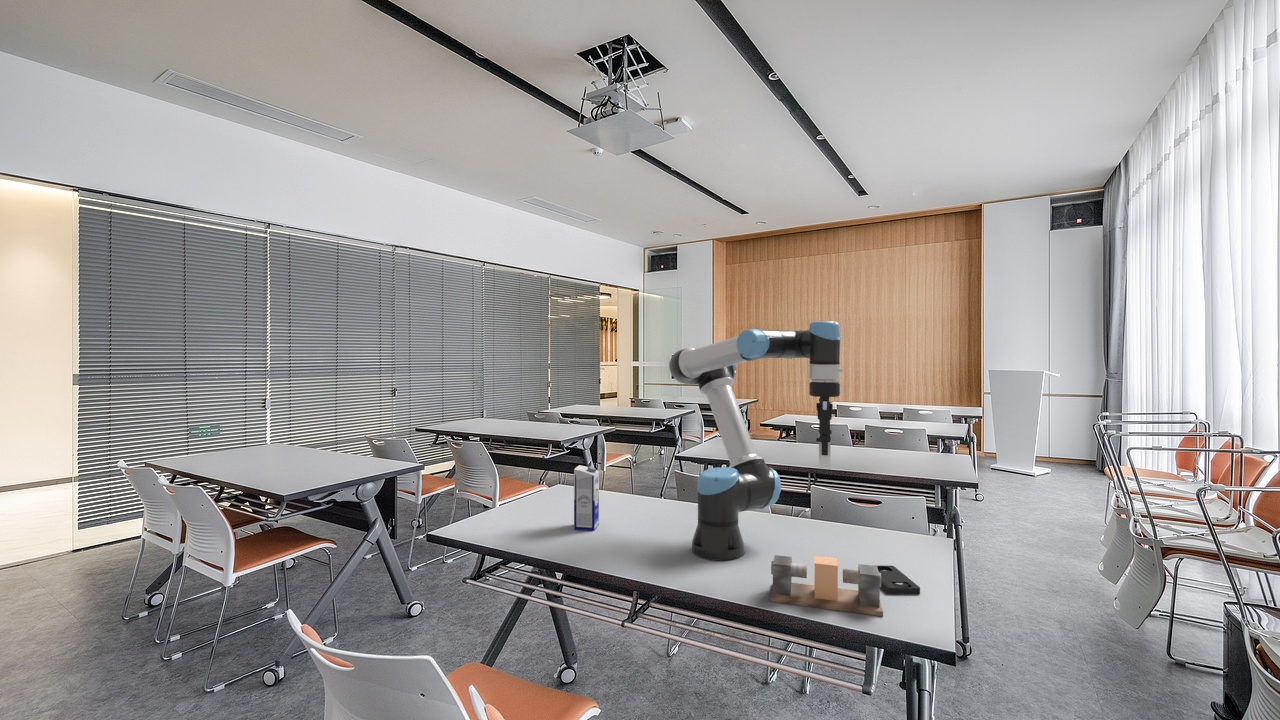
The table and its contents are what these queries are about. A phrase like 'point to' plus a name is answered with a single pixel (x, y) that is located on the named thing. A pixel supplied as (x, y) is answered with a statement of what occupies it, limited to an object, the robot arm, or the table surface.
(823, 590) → the coupler block
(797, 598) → the shaft bench
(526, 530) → the table surface
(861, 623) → the table surface
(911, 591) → the vhs tape
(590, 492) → the milk carton
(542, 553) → the table surface
